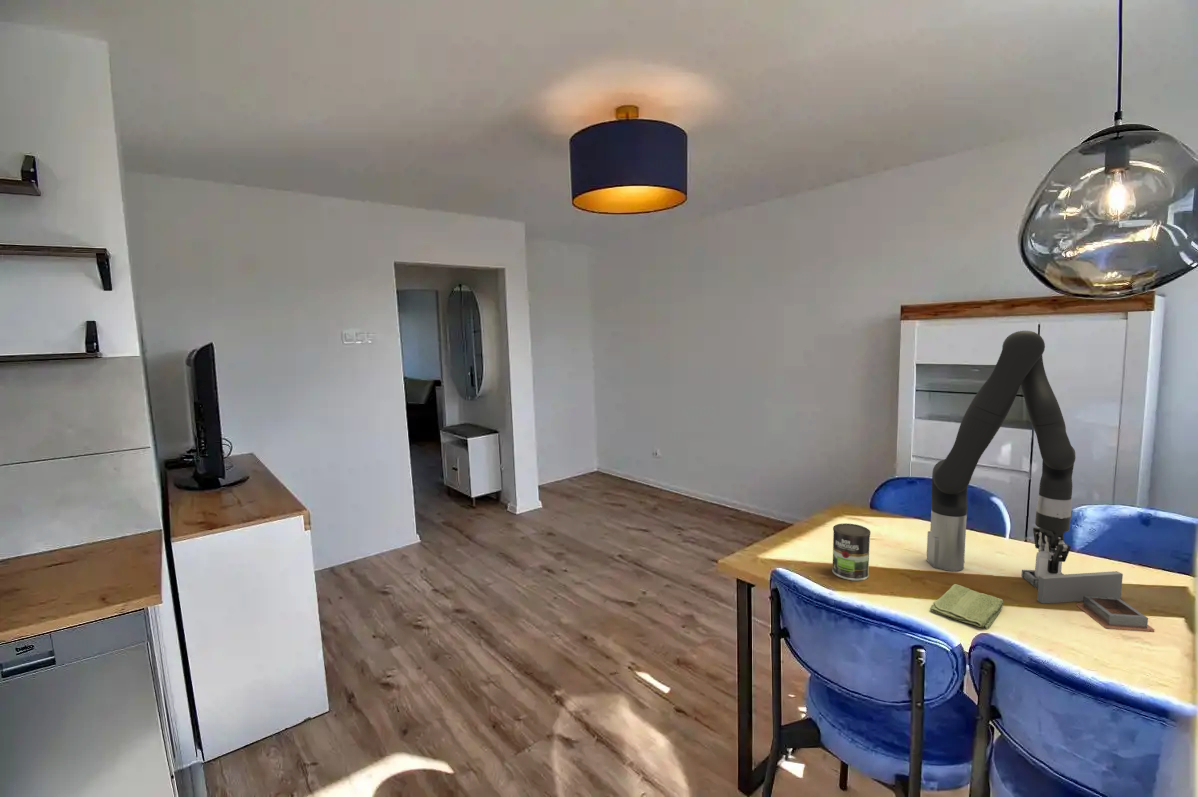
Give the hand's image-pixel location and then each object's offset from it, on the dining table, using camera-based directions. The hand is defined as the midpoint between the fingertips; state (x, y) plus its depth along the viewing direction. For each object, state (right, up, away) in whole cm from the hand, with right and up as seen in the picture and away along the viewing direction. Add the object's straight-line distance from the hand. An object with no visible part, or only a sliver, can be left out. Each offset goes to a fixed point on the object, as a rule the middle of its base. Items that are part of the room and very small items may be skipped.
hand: (1048, 569), depth 154 cm
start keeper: (0, -4, +1) cm, 4 cm away
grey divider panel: (+1, -5, -9) cm, 10 cm away
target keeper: (+1, -7, -18) cm, 19 cm away
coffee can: (-51, -5, +11) cm, 53 cm away
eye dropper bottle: (0, -3, +1) cm, 3 cm away
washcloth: (-31, -8, -11) cm, 34 cm away
